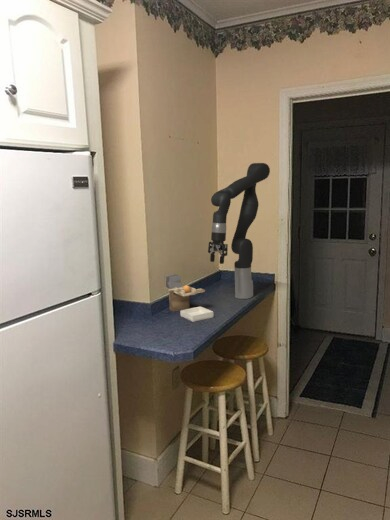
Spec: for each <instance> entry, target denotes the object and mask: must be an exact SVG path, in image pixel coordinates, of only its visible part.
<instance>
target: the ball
mask: <svg viewBox="0 0 390 520" xmlns="http://www.w3.org/2000/svg"><path fill="white" fill-rule="evenodd" d="M182 287H183V290H184V291H185V292H189V291H190V287H191V286H189V285H187V284H185V285H184V286H182Z"/></svg>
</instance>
